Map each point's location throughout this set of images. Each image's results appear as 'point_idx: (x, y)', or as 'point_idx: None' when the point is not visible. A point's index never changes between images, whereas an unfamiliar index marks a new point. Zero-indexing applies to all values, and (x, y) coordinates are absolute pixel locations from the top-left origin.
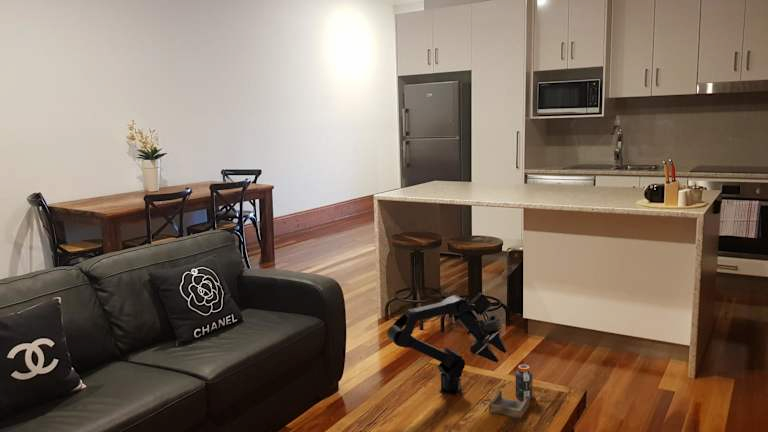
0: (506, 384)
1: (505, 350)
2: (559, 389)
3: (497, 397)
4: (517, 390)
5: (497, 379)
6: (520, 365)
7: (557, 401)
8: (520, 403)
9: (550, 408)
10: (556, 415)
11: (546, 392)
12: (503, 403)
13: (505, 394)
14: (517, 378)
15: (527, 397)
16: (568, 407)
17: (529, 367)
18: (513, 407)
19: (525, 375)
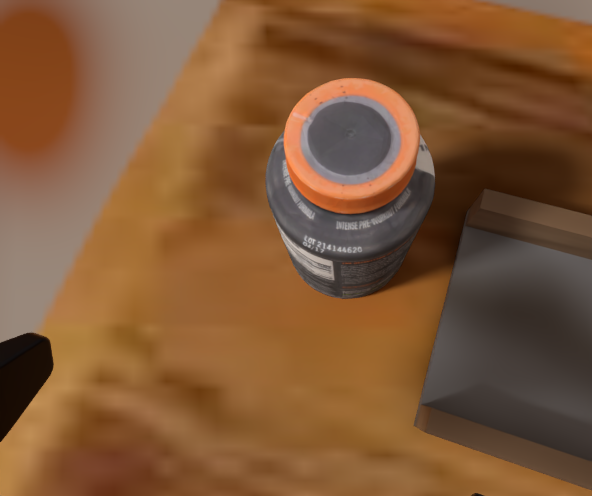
0: (172, 364)
1: (27, 351)
2: (234, 44)
3: (546, 446)
4: (388, 275)
5: (87, 435)
6: (317, 171)
7: (391, 57)
8: (484, 266)
9: (490, 94)
10: (573, 65)
11: (279, 111)
12: (510, 391)
13: (335, 374)
14: (403, 245)
15: (502, 202)
16: (457, 6)
17: (358, 78)
18: (557, 316)
19: (424, 152)
